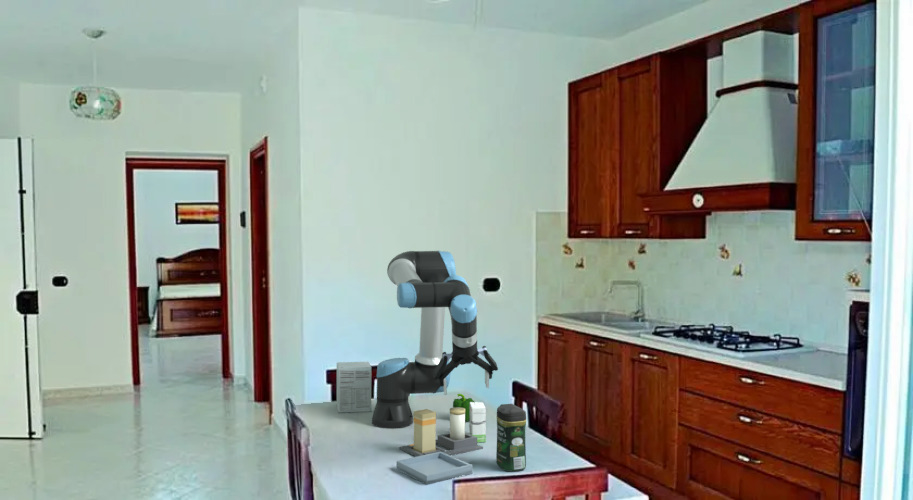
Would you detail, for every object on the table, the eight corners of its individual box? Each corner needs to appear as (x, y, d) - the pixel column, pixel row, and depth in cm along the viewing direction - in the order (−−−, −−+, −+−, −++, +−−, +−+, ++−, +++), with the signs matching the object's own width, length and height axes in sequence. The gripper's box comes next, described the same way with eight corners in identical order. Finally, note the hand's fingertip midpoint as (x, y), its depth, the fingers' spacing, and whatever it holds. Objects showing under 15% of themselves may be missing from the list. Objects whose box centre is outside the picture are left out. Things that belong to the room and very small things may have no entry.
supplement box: (371, 411, 280) (372, 367, 280) (337, 413, 277) (337, 368, 277) (368, 403, 293) (368, 361, 293) (336, 405, 290) (336, 362, 290)
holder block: (399, 448, 232) (399, 439, 232) (454, 437, 245) (454, 428, 245) (425, 461, 219) (425, 451, 219) (482, 448, 233) (482, 439, 233)
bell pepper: (478, 418, 270) (478, 392, 270) (471, 424, 262) (471, 397, 262) (457, 416, 273) (457, 390, 273) (449, 422, 265) (450, 395, 265)
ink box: (486, 442, 239) (486, 407, 239) (471, 442, 239) (471, 407, 239) (483, 435, 248) (483, 401, 248) (468, 435, 248) (469, 401, 247)
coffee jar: (492, 463, 218) (493, 402, 217) (516, 461, 220) (517, 401, 220) (504, 473, 208) (505, 410, 208) (529, 470, 211) (530, 408, 211)
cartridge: (446, 444, 237) (446, 408, 236) (458, 442, 240) (459, 406, 239) (455, 448, 232) (455, 411, 232) (468, 445, 235) (468, 409, 235)
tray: (396, 469, 212) (396, 460, 211) (440, 459, 221) (440, 451, 221) (426, 484, 199) (426, 475, 199) (472, 473, 208) (472, 465, 208)
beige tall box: (413, 451, 229) (413, 411, 228) (426, 448, 232) (426, 409, 232) (422, 455, 225) (422, 414, 224) (435, 452, 228) (436, 412, 227)
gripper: (425, 355, 211) (429, 403, 224) (507, 342, 214) (506, 391, 227) (421, 337, 217) (425, 385, 230) (502, 326, 220) (501, 373, 233)
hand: (466, 388), depth 228 cm, fingers open, 13 cm apart
